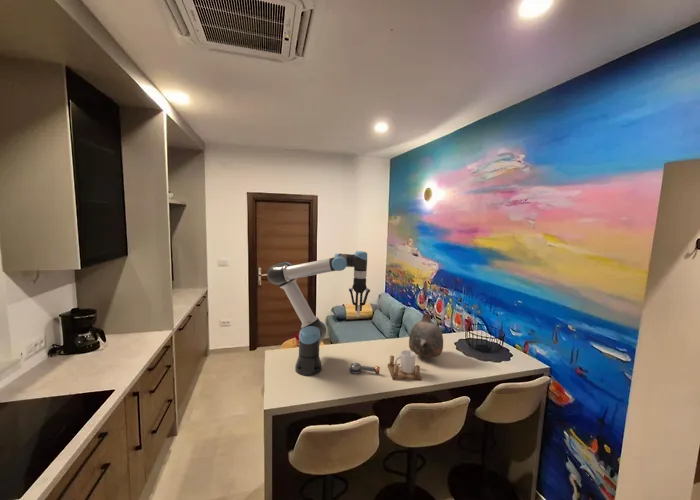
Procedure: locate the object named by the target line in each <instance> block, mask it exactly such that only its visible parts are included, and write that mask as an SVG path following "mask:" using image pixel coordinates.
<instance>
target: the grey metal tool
mask: <svg viewBox="0 0 700 500" xmlns="http://www.w3.org/2000/svg"><path fill="white" fill-rule="evenodd" d="M349 366H350V367H349V369H350V370H351V371H354V372H358V371H360V370H362V371H365V372H371V373H372V372H373V373H375V374H380V373H381V372H380V371H381V370H380V366H379V365H377V366H368V365H367V366H366V365H361V363H359V362H352V363H350V365H349Z"/></svg>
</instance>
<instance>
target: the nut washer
mask: <svg viewBox="0 0 700 500" xmlns="http://www.w3.org/2000/svg"><path fill="white" fill-rule="evenodd" d="M362 371H363V370H360V371H358V372H354V371H351V370H350V368H349V373H350V374H352V375H360V374H362Z"/></svg>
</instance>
